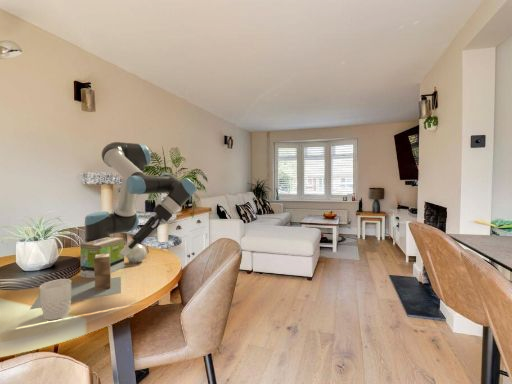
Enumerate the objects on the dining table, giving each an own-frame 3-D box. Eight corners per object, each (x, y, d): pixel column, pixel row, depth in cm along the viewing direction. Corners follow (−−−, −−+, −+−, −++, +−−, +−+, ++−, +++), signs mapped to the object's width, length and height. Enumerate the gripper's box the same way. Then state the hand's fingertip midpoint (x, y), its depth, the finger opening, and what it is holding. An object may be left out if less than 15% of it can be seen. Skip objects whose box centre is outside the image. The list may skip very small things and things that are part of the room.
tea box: (100, 280, 111) (99, 245, 110) (80, 278, 113) (79, 243, 112) (125, 268, 125) (124, 237, 125) (106, 266, 127) (105, 236, 127)
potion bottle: (129, 268, 129) (140, 262, 144) (146, 256, 130) (155, 251, 145) (118, 253, 129) (130, 248, 144) (135, 241, 130) (145, 237, 145)
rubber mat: (120, 278, 113) (120, 276, 113) (121, 294, 97) (121, 292, 97) (43, 289, 101) (43, 288, 101) (29, 310, 85) (29, 309, 85)
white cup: (54, 308, 86) (53, 278, 86) (78, 309, 86) (77, 278, 86) (33, 321, 78) (32, 288, 78) (59, 322, 78) (58, 289, 78)
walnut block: (110, 283, 105) (109, 253, 105) (110, 288, 101) (109, 256, 100) (96, 286, 103) (95, 254, 102) (95, 290, 99) (93, 258, 98)
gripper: (157, 202, 116) (115, 244, 109) (161, 204, 104) (114, 252, 97) (170, 213, 118) (130, 255, 111) (176, 216, 107) (131, 264, 100)
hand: (123, 253), depth 104 cm, fingers closed
